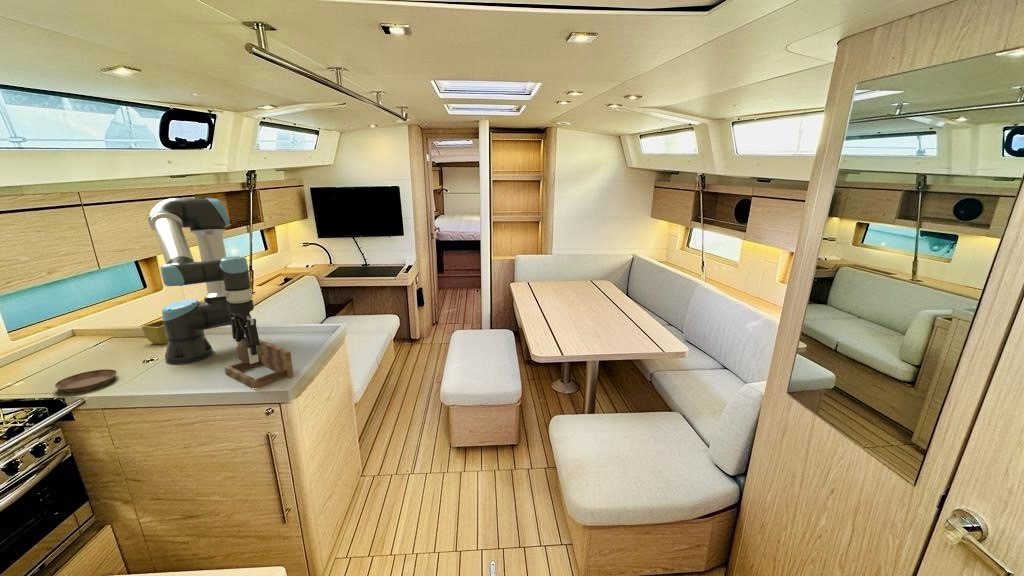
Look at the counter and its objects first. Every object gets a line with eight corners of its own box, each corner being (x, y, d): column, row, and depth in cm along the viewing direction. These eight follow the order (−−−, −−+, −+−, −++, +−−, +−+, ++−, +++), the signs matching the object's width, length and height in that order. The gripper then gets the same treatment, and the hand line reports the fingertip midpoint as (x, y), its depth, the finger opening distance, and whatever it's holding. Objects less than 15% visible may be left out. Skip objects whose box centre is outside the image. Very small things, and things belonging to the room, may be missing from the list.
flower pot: (144, 345, 168) (140, 325, 166) (165, 337, 176) (161, 319, 174) (161, 346, 167) (157, 327, 165) (181, 339, 175) (177, 321, 173)
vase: (249, 365, 136) (245, 343, 134) (232, 363, 138) (229, 341, 135) (264, 357, 143) (261, 336, 141) (249, 355, 144) (245, 334, 142)
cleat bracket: (223, 373, 144) (219, 349, 142) (260, 361, 155) (256, 338, 153) (256, 390, 132) (252, 364, 130) (293, 376, 143) (290, 351, 141)
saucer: (115, 371, 144) (114, 365, 144) (121, 384, 135) (119, 377, 134) (56, 385, 133) (53, 378, 132) (57, 400, 124) (55, 393, 123)
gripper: (214, 298, 136) (224, 357, 142) (242, 307, 127) (251, 370, 132) (237, 294, 143) (246, 350, 148) (265, 302, 133) (274, 363, 138)
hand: (249, 360), depth 140 cm, fingers closed on vase, 7 cm apart
